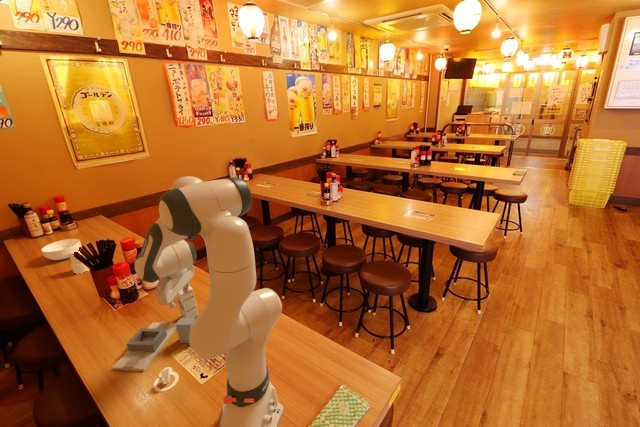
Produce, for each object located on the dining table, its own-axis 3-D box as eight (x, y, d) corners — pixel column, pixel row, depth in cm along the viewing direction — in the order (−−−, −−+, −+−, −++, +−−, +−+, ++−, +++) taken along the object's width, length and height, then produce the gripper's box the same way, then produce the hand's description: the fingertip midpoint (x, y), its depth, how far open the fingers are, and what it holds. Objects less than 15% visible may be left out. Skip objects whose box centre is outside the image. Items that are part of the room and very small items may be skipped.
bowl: (90, 251, 205) (87, 239, 202) (60, 265, 187) (55, 253, 185) (69, 248, 211) (65, 237, 208) (38, 262, 193) (33, 250, 190)
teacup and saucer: (163, 370, 109) (161, 361, 108) (184, 371, 108) (182, 362, 107) (148, 391, 101) (145, 382, 99) (170, 393, 100) (167, 384, 99)
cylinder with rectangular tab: (69, 273, 177) (62, 255, 173) (83, 266, 185) (77, 248, 181) (82, 274, 175) (76, 256, 171) (95, 266, 184) (89, 249, 180)
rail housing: (144, 371, 109) (141, 361, 107) (113, 369, 110) (109, 360, 108) (179, 324, 131) (177, 316, 129) (153, 324, 132) (150, 315, 131)
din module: (194, 343, 120) (190, 324, 117) (179, 342, 121) (174, 324, 118) (199, 335, 124) (195, 317, 121) (184, 335, 125) (179, 317, 122)
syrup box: (199, 315, 136) (193, 287, 132) (186, 322, 132) (180, 294, 128) (193, 310, 140) (187, 283, 135) (181, 316, 136) (174, 289, 131)
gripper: (165, 284, 101) (173, 317, 106) (194, 255, 120) (200, 284, 125) (147, 284, 102) (156, 317, 107) (179, 255, 121) (185, 284, 126)
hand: (180, 299), depth 116 cm, fingers open, 8 cm apart
